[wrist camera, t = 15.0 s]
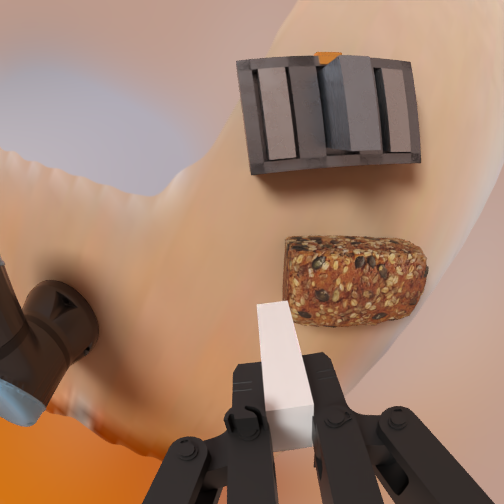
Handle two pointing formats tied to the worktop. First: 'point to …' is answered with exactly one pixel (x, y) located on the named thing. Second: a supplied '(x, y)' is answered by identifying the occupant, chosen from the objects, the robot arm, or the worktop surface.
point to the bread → (351, 279)
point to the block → (349, 104)
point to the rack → (320, 114)
